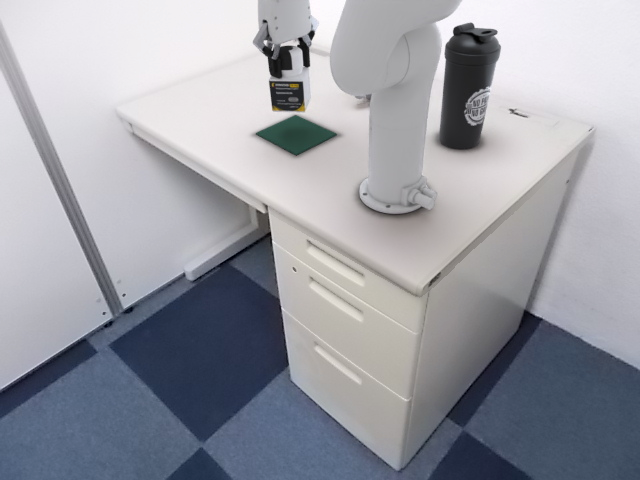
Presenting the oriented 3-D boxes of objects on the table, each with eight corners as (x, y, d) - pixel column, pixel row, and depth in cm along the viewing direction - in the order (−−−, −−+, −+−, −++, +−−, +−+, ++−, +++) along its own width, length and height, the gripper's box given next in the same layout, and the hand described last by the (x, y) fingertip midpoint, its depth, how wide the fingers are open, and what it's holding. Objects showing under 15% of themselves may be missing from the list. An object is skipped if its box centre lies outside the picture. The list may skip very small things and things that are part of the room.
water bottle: (458, 156, 100) (476, 41, 85) (424, 137, 107) (435, 27, 92) (494, 142, 104) (516, 28, 89) (459, 124, 111) (475, 16, 96)
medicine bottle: (272, 112, 104) (265, 54, 96) (279, 97, 109) (273, 42, 101) (305, 113, 103) (301, 55, 95) (311, 98, 108) (307, 42, 100)
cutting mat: (336, 135, 110) (336, 133, 109) (296, 155, 104) (296, 154, 103) (295, 116, 118) (295, 114, 117) (255, 134, 112) (255, 132, 111)
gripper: (303, -37, 96) (309, 55, 108) (231, -19, 88) (245, 79, 99) (330, -32, 92) (333, 63, 104) (256, -12, 83) (268, 89, 95)
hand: (290, 70), depth 101 cm, fingers closed on medicine bottle, 6 cm apart
